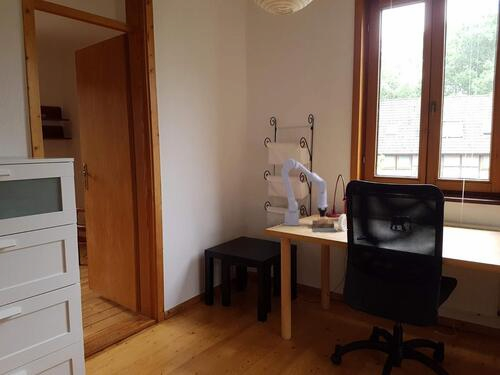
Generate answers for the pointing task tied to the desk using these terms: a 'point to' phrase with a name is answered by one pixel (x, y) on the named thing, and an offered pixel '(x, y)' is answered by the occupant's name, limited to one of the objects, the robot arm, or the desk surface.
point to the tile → (322, 219)
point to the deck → (323, 224)
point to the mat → (324, 230)
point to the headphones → (342, 222)
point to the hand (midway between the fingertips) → (322, 219)
